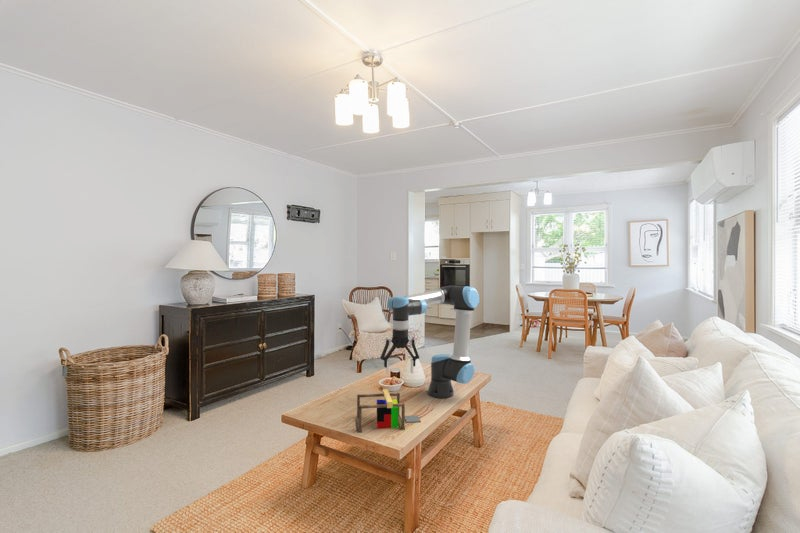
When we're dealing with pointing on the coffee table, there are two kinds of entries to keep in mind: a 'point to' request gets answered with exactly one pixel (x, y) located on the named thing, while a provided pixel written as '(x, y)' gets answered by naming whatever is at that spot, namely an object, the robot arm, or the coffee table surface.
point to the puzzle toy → (387, 415)
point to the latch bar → (388, 398)
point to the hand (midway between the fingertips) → (399, 373)
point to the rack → (359, 408)
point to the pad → (412, 419)
